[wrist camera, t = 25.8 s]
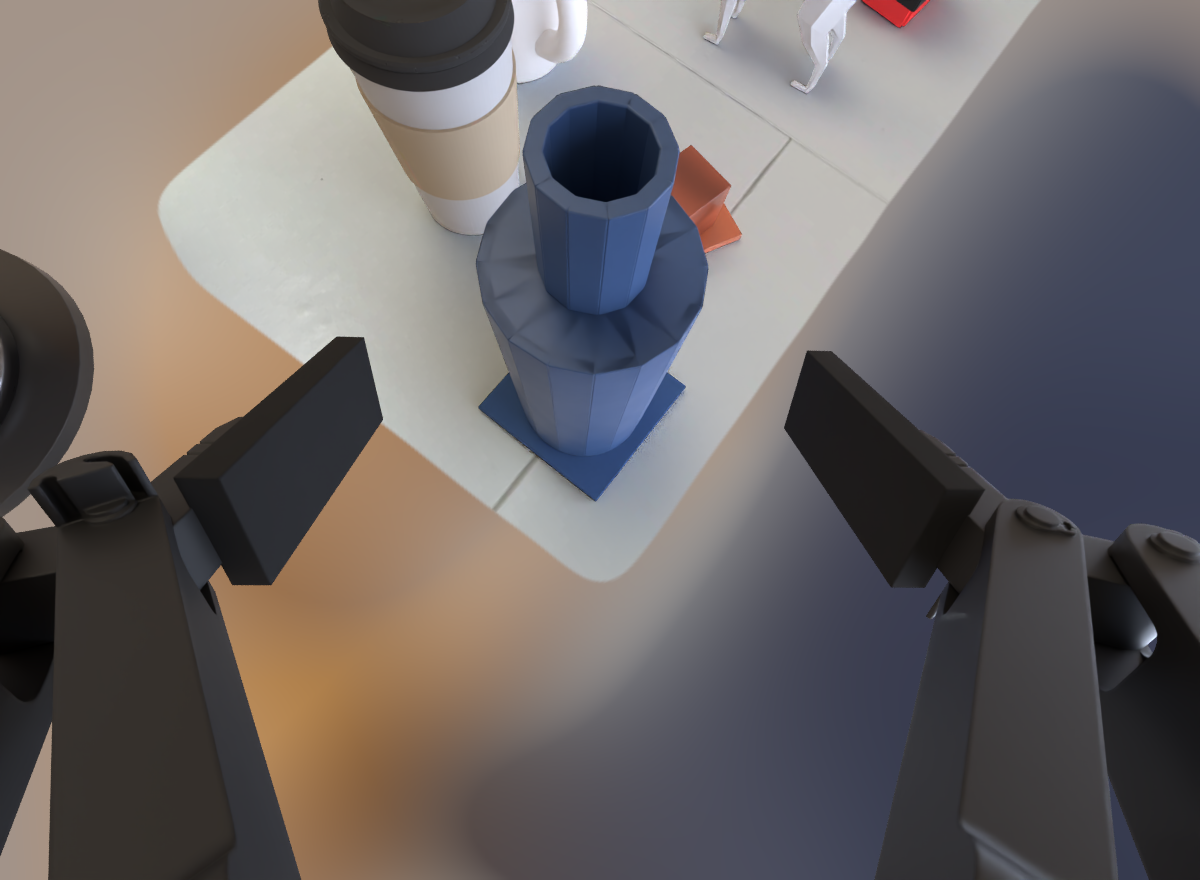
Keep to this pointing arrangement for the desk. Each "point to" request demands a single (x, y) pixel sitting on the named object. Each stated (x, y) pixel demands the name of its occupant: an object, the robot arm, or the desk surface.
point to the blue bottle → (592, 268)
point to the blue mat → (579, 470)
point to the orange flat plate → (720, 231)
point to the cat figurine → (803, 30)
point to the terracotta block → (699, 188)
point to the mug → (546, 35)
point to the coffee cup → (439, 96)
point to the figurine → (897, 9)
